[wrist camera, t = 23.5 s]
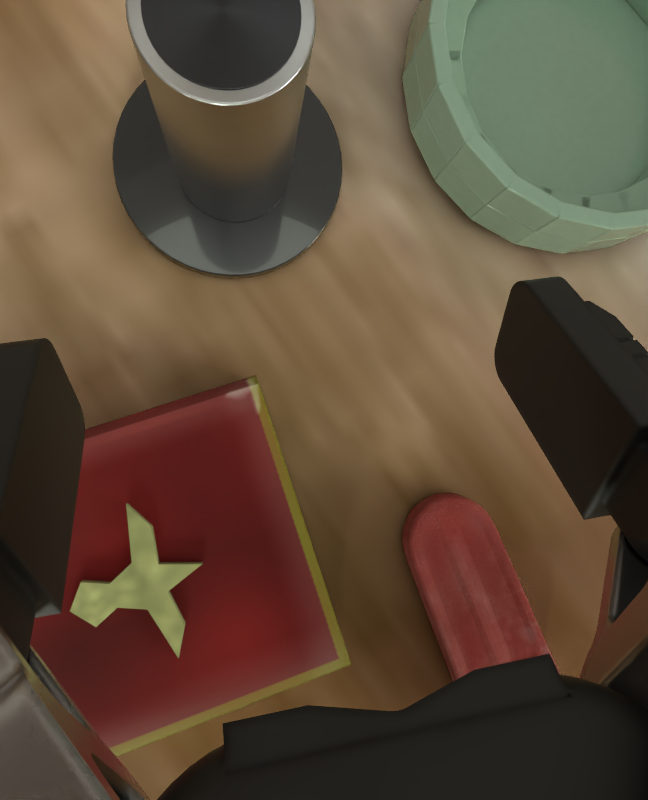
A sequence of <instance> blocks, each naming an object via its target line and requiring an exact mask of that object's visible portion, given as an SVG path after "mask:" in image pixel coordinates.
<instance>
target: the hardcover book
mask: <svg viewBox="0 0 648 800" xmlns="http://www.w3.org/2000/svg"><path fill="white" fill-rule="evenodd" d="M30 645H31V646H32V647H33V648H34V650H35V651H36V652H37V654H38V655H39V656H40V658H41V659H42V660H43V662H44V663H45V664H46V666H47V667H48V668H49V670H50V671H51V672H52V674H53V675H54V676H55V678H56V679H57V680H58V682H59V683H60V684H61V686H62V687H63V688H64V690H65V691H66V692H67V694H68V695H69V696H70V698H71V699H72V701H73V702H74V703H75V705H76V706H77V707H78V709H79V710H80V711H81V713H82V714H83V715H84V717H85V718H86V719H87V721H88V722H89V723H90V725H91V726H92V727H93V729H94V730H95V731H96V733H97V734H98V735H99V737H100V738H101V739H102V740H103V742H104V743H105V744H106V745H107V746H108V748H109V749H110V750H111V751H112V752H113V753H114V755H115V756H119V755H122V754H124V753H127V752H129V751H132V750H134V749H137V748H139V747H142V746H145V745H147V744H150V743H152V742H155V741H157V740H160V739H162V738H165V737H168V736H170V735H173V734H175V733H178V732H180V731H183V730H185V729H188V728H190V727H193V726H196V725H198V724H201V723H203V722H206V721H208V720H211V719H213V718H216V717H219V716H221V715H224V714H226V713H229V712H231V711H234V710H236V709H239V708H241V707H244V706H247V705H249V704H252V703H254V702H257V701H259V700H262V699H264V698H267V697H270V696H272V695H275V694H277V693H280V692H282V691H285V690H287V689H290V688H293V687H295V686H298V685H300V684H303V683H305V682H308V681H310V680H313V679H315V678H318V677H321V676H323V675H326V674H328V673H331V672H333V671H336V670H338V669H341V668H344V667H346V666H349V665H351V662H350V659H349V656H348V653H347V650H346V647H345V644H344V641H343V638H342V635H341V632H340V629H339V626H338V623H337V620H336V616H335V613H334V610H333V607H332V604H331V601H330V598H329V595H328V592H327V589H326V586H325V583H324V580H323V577H322V574H321V571H320V568H319V565H318V562H317V558H316V555H315V552H314V549H313V546H312V543H311V540H310V537H309V534H308V531H307V528H306V525H305V522H304V519H303V516H302V513H301V510H300V507H299V504H298V500H297V497H296V494H295V491H294V488H293V485H292V482H291V479H290V476H289V473H288V470H287V467H286V464H285V461H284V458H283V455H282V452H281V449H280V446H279V442H278V439H277V436H276V433H275V430H274V427H273V424H272V421H271V418H270V415H269V412H268V409H267V406H266V403H265V400H264V397H263V394H262V391H261V387H260V384H259V382H258V379H257V377H256V375H255V376H252V377H249V378H245V379H242V380H239V381H236V382H233V383H230V384H227V385H223V386H220V387H217V388H214V389H211V390H208V391H205V392H201V393H198V394H195V395H192V396H189V397H186V398H183V399H179V400H176V401H173V402H170V403H167V404H164V405H160V406H157V407H154V408H151V409H148V410H145V411H142V412H138V413H135V414H132V415H129V416H126V417H123V418H120V419H116V420H113V421H110V422H107V423H104V424H101V425H98V426H94V427H91V428H88V429H85V440H84V448H83V455H82V463H81V470H80V478H79V485H78V492H77V500H76V507H75V515H74V522H73V530H72V537H71V545H70V552H69V560H68V567H67V575H66V582H65V590H64V597H63V605H62V612H61V613H60V614H54V615H49V616H43V617H38V618H35V619H34V625H33V631H32V637H31V643H30Z"/></svg>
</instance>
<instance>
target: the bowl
mask: <svg viewBox="0 0 648 800" xmlns="http://www.w3.org/2000/svg"><path fill="white" fill-rule="evenodd" d="M402 81H403V87H404V94H405V100H406V107H407V113H408V120H409V126H410V131H411V133H412V135H413V137H414V139H415V142H416V144H417V146H418V148H419V150H420V152H421V154H422V156H423V158H424V160H425V162H426V164H427V166H428V169H429V171H430V173H431V175H432V177H433V178H434V179H435V182H436V183H437V184H438V185H439V186H440V187H441V188H442V189H443V190H444V191H445V192H446V194H447V195H448V196H449V197H450V198H451V199H452V200H453V201H454V202H455V203H456V204H457V205H458V207H459V208H460V209H461V210H462V211H463V212H464V213H465V214H466V215H467V216H468V217H469V218H470V219H471V220H473V221H474V222H476V223H478V224H480V225H481V226H483V227H485V228H487V229H488V230H490V231H492V232H494V233H495V234H497V235H499V236H501V237H502V238H504V239H506V240H508V241H509V242H511V243H513V244H516V245H521V246H526V247H531V248H536V249H541V250H546V251H551V252H556V253H571V252H579V251H586V250H593V249H601V248H608V247H611V246H614V245H616V244H618V243H621V242H623V241H625V240H628V239H630V238H632V237H635V236H637V235H639V234H642V233H644V232H646V231H648V0H421V2H420V4H419V6H418V9H417V11H416V13H415V16H414V18H413V20H412V23H411V26H410V30H409V37H408V43H407V50H406V56H405V63H404V69H403V78H402Z"/></svg>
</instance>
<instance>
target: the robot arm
mask: <svg viewBox="0 0 648 800" xmlns="http://www.w3.org/2000/svg"><path fill="white" fill-rule="evenodd" d="M495 366H496V371H497V374H498V377H499V379H500V381H501V382H502V384H503V386H504V387H505V389H506V391H507V392H508V394H509V396H510V397H511V399H512V401H513V402H514V404H515V406H516V407H517V409H518V411H519V412H520V414H521V416H522V417H523V419H524V421H525V422H526V424H527V426H528V427H529V429H530V431H531V432H532V434H533V436H534V437H535V439H536V441H537V442H538V444H539V446H540V447H541V449H542V451H543V452H544V454H545V456H546V457H547V459H548V461H549V462H550V464H551V466H552V467H553V469H554V471H555V472H556V474H557V476H558V477H559V479H560V481H561V482H562V484H563V486H564V487H565V489H566V491H567V492H568V494H569V496H570V497H571V499H572V501H573V502H574V504H575V506H576V507H577V509H578V510H579V512H580V514H581V515H582V517H583V519H584V520H585V519H590V518H596V517H601V516H607V515H611V516H612V517H613V519H614V520H615V522H616V523H617V527H616V528H615V530H614V532H613V534H612V537H611V543H610V549H609V555H608V562H607V568H606V575H605V581H604V588H603V594H602V600H601V607H600V613H599V620H598V626H597V631H596V634H595V638H594V641H593V643H592V646H591V648H590V650H589V652H588V655H587V657H586V660H585V663H584V665H583V669H582V672H581V676H580V678H576V677H571V676H566V675H560V674H559V672H558V670H557V668H556V666H555V663H554V661H553V659H552V657H551V655H550V654H545V655H540V656H536V657H531V658H526V659H522V660H517V661H512V662H508V663H503V664H498V665H494V666H489V667H484V668H480V669H475V670H473V671H471V672H469V673H467V674H466V675H464V676H462V677H460V678H459V679H457V680H455V681H453V682H451V683H450V684H448V685H446V686H444V687H443V688H441V689H439V690H437V691H436V692H434V693H432V694H430V695H428V696H427V697H425V698H423V699H421V700H420V701H418V702H416V703H414V704H413V705H411V706H409V707H407V708H405V709H403V710H399V711H378V710H364V709H350V708H337V707H323V706H309V705H307V706H303V707H298V708H293V709H289V710H284V711H279V712H275V713H270V714H265V715H261V716H256V717H252V718H247V719H242V720H238V721H233V722H228V723H224V724H223V735H224V745H222V746H221V747H219V748H217V749H215V750H213V751H211V752H210V753H208V754H207V755H205V756H204V757H203V758H201V759H200V760H198V761H197V762H196V763H194V764H193V765H191V766H190V767H189V768H188V769H187V770H186V771H185V772H183V773H182V774H181V775H180V776H179V777H178V778H177V779H176V780H175V781H174V782H172V783H171V784H170V786H169V787H168V788H167V789H166V790H165V791H164V792H163V794H162V795H161V796H160V797H159V798H158V799H157V800H648V352H647V351H646V349H645V348H644V347H643V346H642V345H641V344H640V343H639V342H638V341H637V340H633V335H632V334H631V333H630V332H629V331H628V330H627V329H626V328H625V326H624V325H623V324H622V323H621V322H620V321H619V320H618V319H617V318H616V317H615V316H614V315H612V314H610V313H609V312H607V311H605V310H604V309H602V308H600V307H599V306H597V305H595V304H594V303H592V302H590V301H583V299H582V298H581V297H580V296H579V295H578V294H577V293H576V291H575V290H574V289H573V288H572V287H571V286H570V285H569V283H568V282H567V281H566V280H565V279H563V278H562V277H550V278H542V279H534V280H526V281H519V282H517V283H515V284H514V286H513V287H512V289H511V292H510V295H509V299H508V302H507V306H506V310H505V313H504V317H503V321H502V324H501V328H500V332H499V335H498V339H497V343H496V347H495ZM84 440H85V426H84V418H83V413H82V410H81V406H80V404H79V401H78V399H77V397H76V395H75V392H74V390H73V388H72V386H71V384H70V381H69V379H68V377H67V375H66V373H65V370H64V368H63V366H62V364H61V362H60V359H59V357H58V355H57V353H56V351H55V349H54V347H53V345H52V343H51V342H50V341H49V340H48V339H46V338H42V339H34V340H26V341H18V342H9V343H1V344H0V800H150V799H149V798H148V796H147V795H146V794H145V792H144V791H143V790H142V788H141V787H140V786H139V784H138V783H137V782H136V780H135V779H134V778H133V777H132V775H131V774H130V773H129V772H128V770H127V769H126V768H125V767H124V765H123V764H122V763H121V762H120V760H119V759H118V758H117V757H116V756H115V755H114V753H113V752H112V751H111V750H110V749H109V748H108V746H107V745H106V744H105V743H104V742H103V740H102V739H101V738H100V737H99V735H98V734H97V733H96V731H95V730H94V729H93V727H92V726H91V725H90V723H89V722H88V721H87V719H86V718H85V717H84V715H83V714H82V713H81V711H80V710H79V709H78V707H77V706H76V705H75V703H74V702H73V701H72V699H71V698H70V696H69V695H68V694H67V692H66V691H65V690H64V688H63V687H62V686H61V684H60V683H59V682H58V680H57V679H56V678H55V676H54V675H53V674H52V672H51V671H50V670H49V668H48V667H47V666H46V664H45V663H44V662H43V660H42V659H41V658H40V656H39V655H38V654H37V652H36V651H35V650H34V648H33V647H32V646H31V645H30V643H31V637H32V631H33V625H34V619H35V618H38V617H43V616H49V615H54V614H60V613H61V612H62V605H63V597H64V590H65V582H66V575H67V567H68V560H69V552H70V545H71V537H72V530H73V522H74V515H75V507H76V500H77V492H78V485H79V478H80V470H81V463H82V455H83V448H84Z"/></svg>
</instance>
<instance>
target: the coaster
mask: <svg viewBox="0 0 648 800" xmlns="http://www.w3.org/2000/svg"><path fill="white" fill-rule="evenodd" d="M113 170H114V176H115V181H116V186H117V189H118V192H119V195H120V198H121V201H122V203H123V205H124V207H125V209H126V211H127V213H128V215H129V217H130V218H131V220H132V221H133V223H134V224H135V226H136V227H137V229H138V230H139V232H140V233H141V234H142V235H143V236H144V237H145V238H146V240H147V241H148V242H149V243H150V244H151V245H152V246H153V247H155V248H156V249H157V250H158V251H159V252H160V253H161V254H163V255H164V256H166V257H167V258H169V259H170V260H172V261H173V262H175V263H177V264H179V265H181V266H183V267H185V268H187V269H189V270H192V271H195V272H198V273H200V274H204V275H209V276H213V277H221V278H248V277H253V276H259V275H263V274H266V273H269V272H272V271H275V270H277V269H279V268H281V267H284V266H286V265H287V264H289V263H291V262H292V261H294V260H295V259H297V258H298V257H300V256H301V255H302V254H303V253H304V252H305V251H307V250H308V249H309V248H310V247H311V246H312V245H313V243H314V242H315V241H316V240H317V239H318V238H319V236H320V235H321V233H322V232H323V230H324V229H325V228H326V226H327V224H328V222H329V220H330V218H331V216H332V214H333V212H334V209H335V206H336V203H337V200H338V197H339V192H340V187H341V178H342V160H341V151H340V146H339V141H338V138H337V135H336V132H335V129H334V126H333V124H332V122H331V119H330V117H329V115H328V113H327V111H326V110H325V108H324V107H323V105H322V104H321V102H320V100H319V99H318V98H317V97H316V96H315V94H314V93H313V92H312V91H311V89H310V88H309V87H308V86H307V85H306V87H305V92H304V98H303V104H302V109H301V115H300V121H299V126H298V132H297V138H296V143H295V149H294V155H293V160H292V166H291V172H290V177H289V182H288V185H287V188H286V190H285V193H284V195H283V196H282V198H281V199H280V201H279V202H278V203H277V204H276V205H275V206H274V207H273V208H272V209H271V210H270V211H269V212H267V213H265V214H264V215H262V216H260V217H258V218H255V219H252V220H249V221H243V222H229V221H223V220H219V219H216V218H213V217H211V216H209V215H207V214H205V213H204V212H202V211H201V210H199V209H198V208H197V207H196V206H195V205H193V204H192V202H191V201H190V200H189V199H188V198H187V196H186V195H185V193H184V192H183V190H182V188H181V186H180V184H179V181H178V178H177V175H176V172H175V169H174V166H173V163H172V160H171V157H170V154H169V151H168V148H167V145H166V141H165V138H164V135H163V132H162V129H161V126H160V123H159V120H158V117H157V114H156V111H155V108H154V105H153V102H152V99H151V96H150V92H149V89H148V86H147V83H146V80H144V81H143V82H142V83H141V84H140V86H139V87H138V88H137V89H136V90H135V92H134V93H133V95H132V96H131V97H130V99H129V100H128V102H127V104H126V106H125V108H124V110H123V112H122V114H121V116H120V119H119V122H118V125H117V128H116V133H115V138H114V143H113Z"/></svg>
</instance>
